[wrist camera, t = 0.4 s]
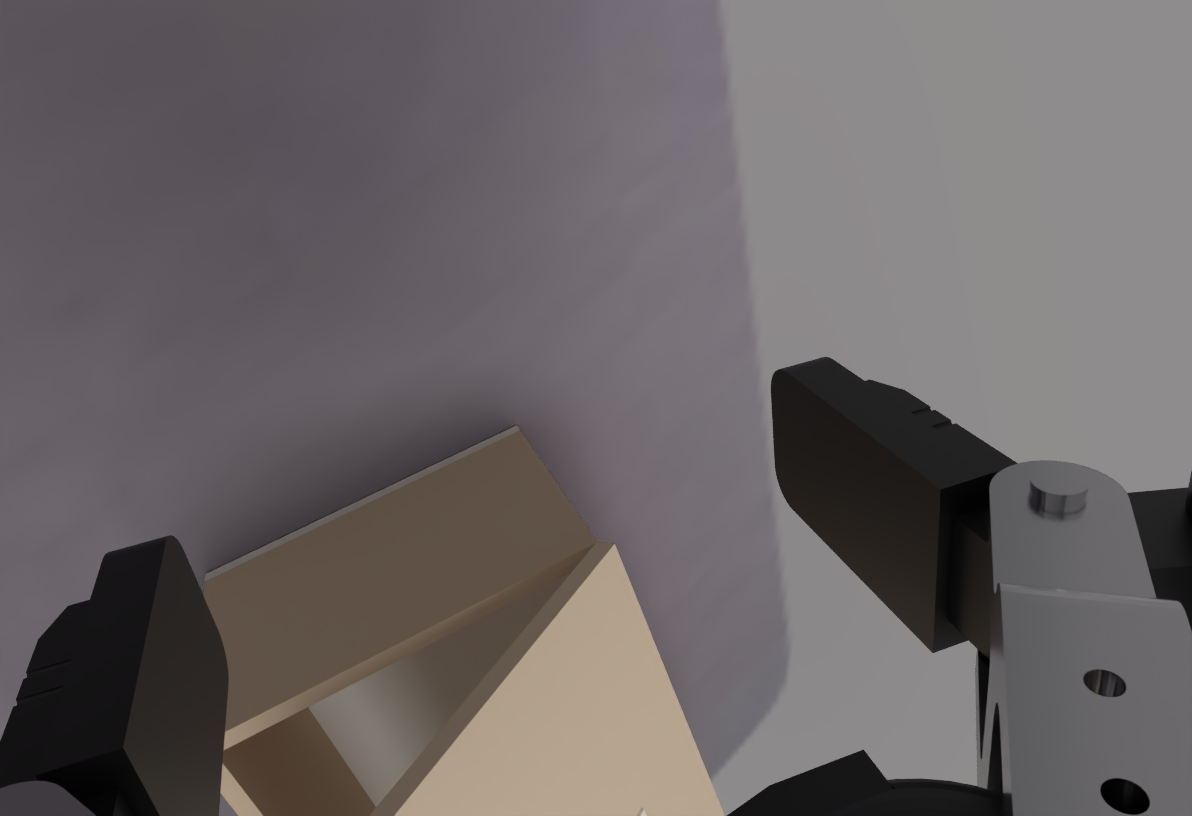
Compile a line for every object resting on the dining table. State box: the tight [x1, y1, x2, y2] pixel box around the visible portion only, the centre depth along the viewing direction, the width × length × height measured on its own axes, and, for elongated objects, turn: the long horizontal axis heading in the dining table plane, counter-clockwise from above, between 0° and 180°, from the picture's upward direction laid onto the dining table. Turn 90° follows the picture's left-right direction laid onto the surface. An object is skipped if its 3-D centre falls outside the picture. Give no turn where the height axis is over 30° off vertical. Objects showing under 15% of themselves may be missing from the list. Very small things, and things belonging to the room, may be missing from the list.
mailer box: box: [203, 425, 597, 816], centre depth 32 cm, size 17×12×9 cm
